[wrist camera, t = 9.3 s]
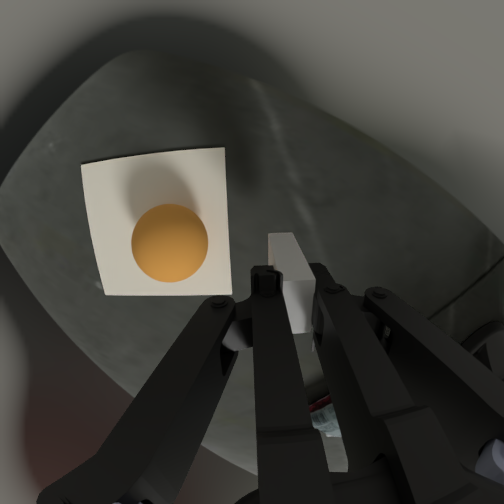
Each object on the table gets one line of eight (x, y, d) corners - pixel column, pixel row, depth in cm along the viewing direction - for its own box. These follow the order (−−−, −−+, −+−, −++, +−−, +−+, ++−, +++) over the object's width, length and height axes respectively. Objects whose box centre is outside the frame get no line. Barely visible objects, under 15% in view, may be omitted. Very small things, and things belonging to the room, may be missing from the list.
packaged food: (397, 384, 31) (410, 410, 26) (324, 426, 33) (331, 453, 29) (374, 354, 28) (389, 383, 24) (290, 403, 31) (295, 435, 26)
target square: (224, 147, 19) (224, 147, 19) (232, 293, 24) (232, 294, 24) (82, 164, 19) (80, 165, 19) (106, 293, 24) (105, 294, 24)
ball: (107, 226, 16) (141, 199, 21) (132, 299, 18) (156, 261, 23) (190, 215, 15) (207, 190, 20) (207, 296, 18) (219, 256, 23)
